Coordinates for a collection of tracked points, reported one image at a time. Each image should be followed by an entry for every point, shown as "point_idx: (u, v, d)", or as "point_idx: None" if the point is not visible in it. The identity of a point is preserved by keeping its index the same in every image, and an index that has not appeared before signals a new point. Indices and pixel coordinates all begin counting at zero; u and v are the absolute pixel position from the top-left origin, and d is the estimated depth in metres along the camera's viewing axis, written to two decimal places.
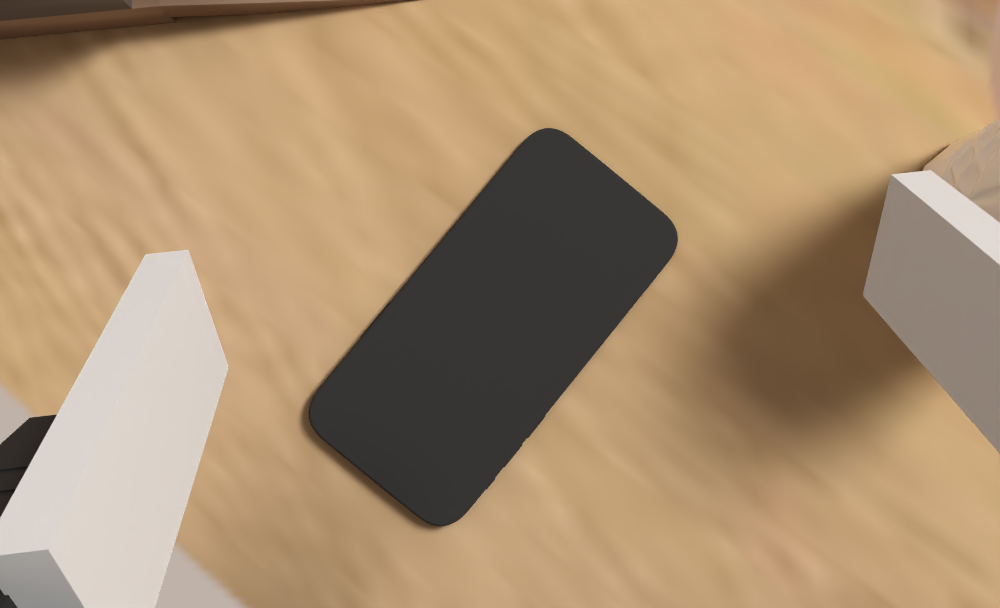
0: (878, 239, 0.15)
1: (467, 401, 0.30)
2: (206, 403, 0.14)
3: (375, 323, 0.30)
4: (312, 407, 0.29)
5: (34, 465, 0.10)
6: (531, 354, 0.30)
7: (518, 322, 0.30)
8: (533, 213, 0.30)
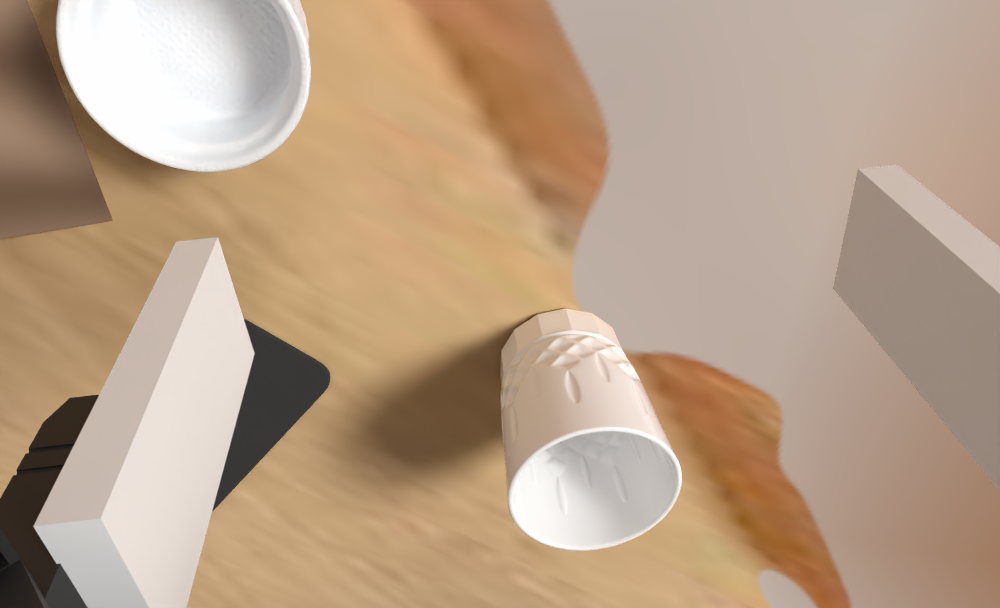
0: (847, 232, 0.15)
1: None
2: (236, 387, 0.14)
3: None
4: None
5: (81, 439, 0.10)
6: (232, 445, 0.44)
7: None
8: None
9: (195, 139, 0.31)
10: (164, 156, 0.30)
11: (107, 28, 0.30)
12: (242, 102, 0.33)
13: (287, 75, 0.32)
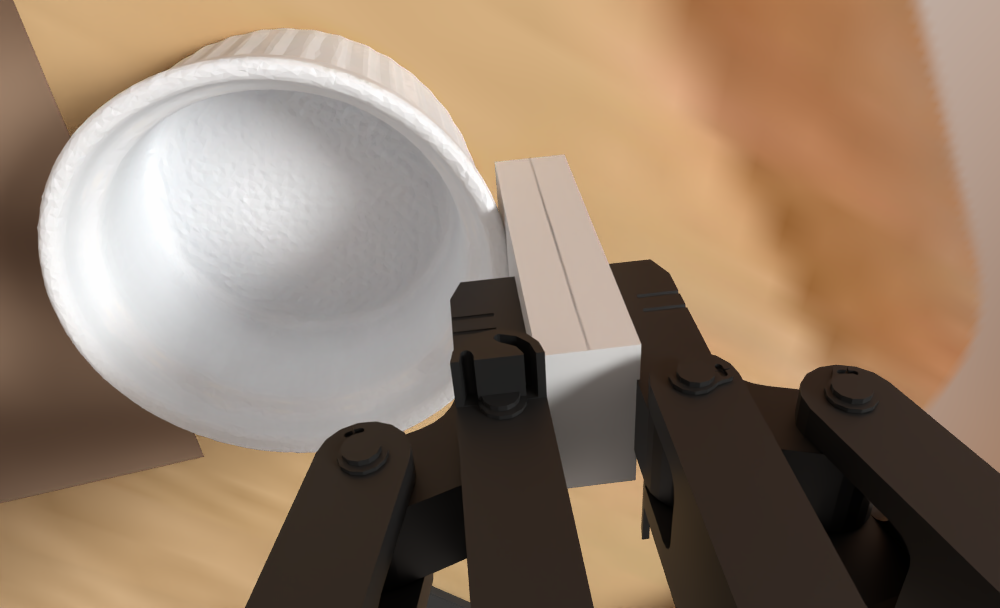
0: None
1: None
2: None
3: None
4: None
5: (529, 300, 0.12)
6: None
7: None
8: None
9: (284, 387, 0.18)
10: (235, 431, 0.17)
11: (134, 209, 0.17)
12: (356, 305, 0.20)
13: (435, 264, 0.19)
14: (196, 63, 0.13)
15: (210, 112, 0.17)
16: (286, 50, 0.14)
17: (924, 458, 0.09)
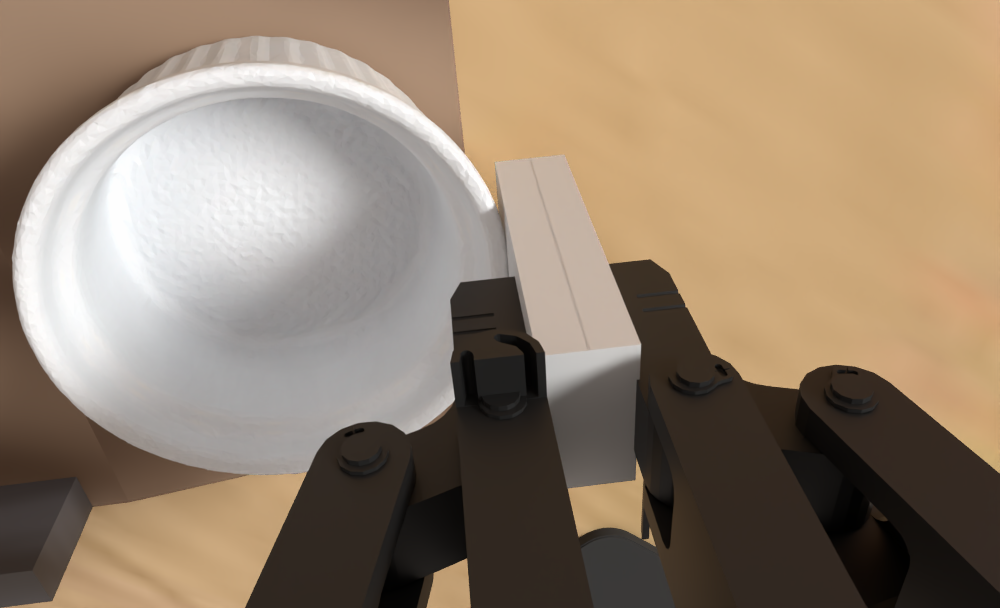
0: None
1: None
2: None
3: None
4: None
5: (529, 300, 0.12)
6: None
7: None
8: None
9: (272, 408, 0.17)
10: (228, 458, 0.16)
11: (100, 234, 0.16)
12: (334, 317, 0.19)
13: (413, 269, 0.19)
14: (188, 72, 0.12)
15: (177, 127, 0.16)
16: (270, 57, 0.14)
17: (923, 458, 0.09)
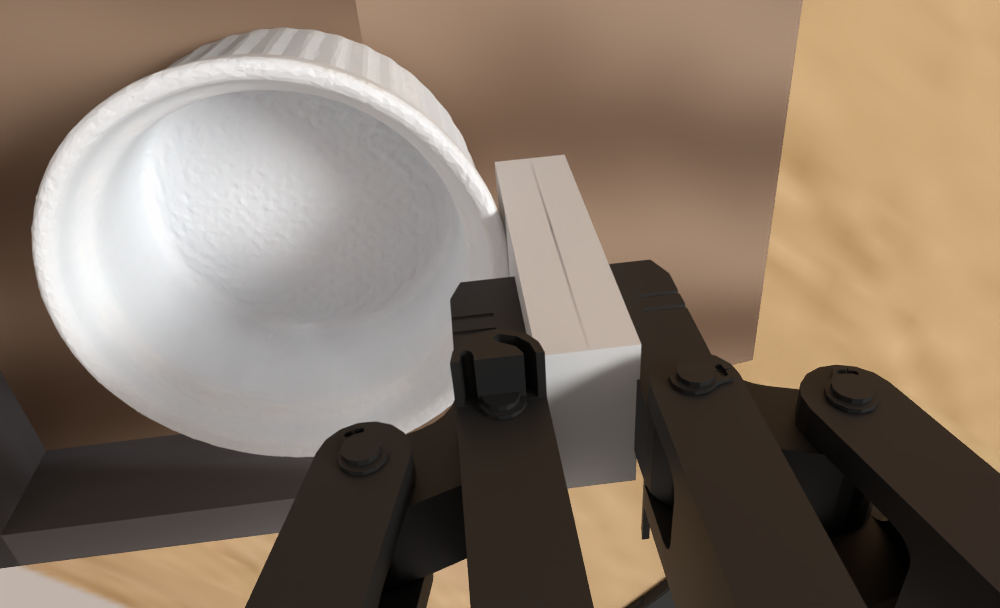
0: None
1: None
2: None
3: None
4: None
5: (529, 300, 0.12)
6: None
7: None
8: None
9: (282, 391, 0.18)
10: (231, 436, 0.17)
11: (130, 210, 0.17)
12: (355, 307, 0.19)
13: (434, 267, 0.19)
14: (193, 63, 0.12)
15: (207, 112, 0.16)
16: (285, 50, 0.14)
17: (924, 457, 0.09)
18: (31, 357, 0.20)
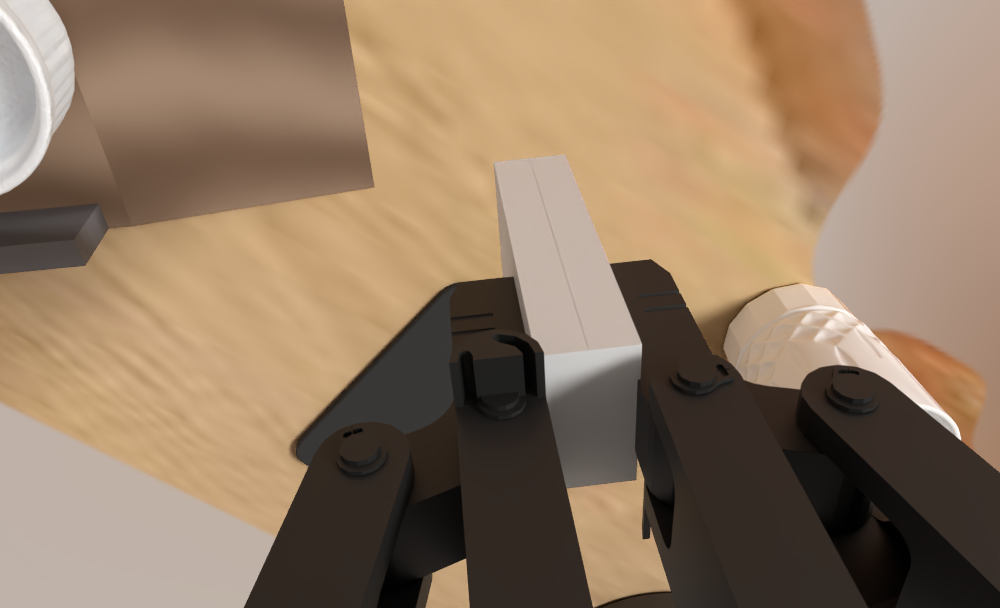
0: None
1: None
2: None
3: (336, 406, 0.42)
4: (298, 451, 0.43)
5: (527, 300, 0.12)
6: None
7: (437, 402, 0.42)
8: (449, 341, 0.40)
9: None
10: None
11: None
12: (6, 123, 0.30)
13: None
14: None
15: None
16: None
17: (924, 458, 0.09)
18: None
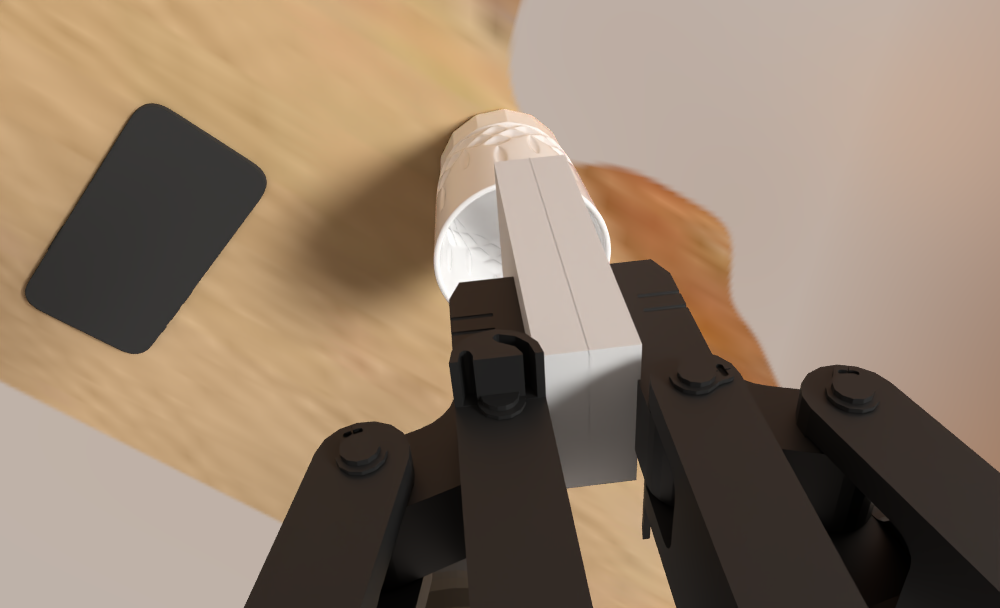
0: None
1: (134, 287, 0.44)
2: None
3: (54, 243, 0.42)
4: (27, 294, 0.44)
5: (527, 300, 0.12)
6: (172, 259, 0.43)
7: (158, 240, 0.43)
8: (152, 169, 0.40)
9: None
10: None
11: None
12: None
13: None
14: None
15: None
16: None
17: (925, 457, 0.09)
18: None
